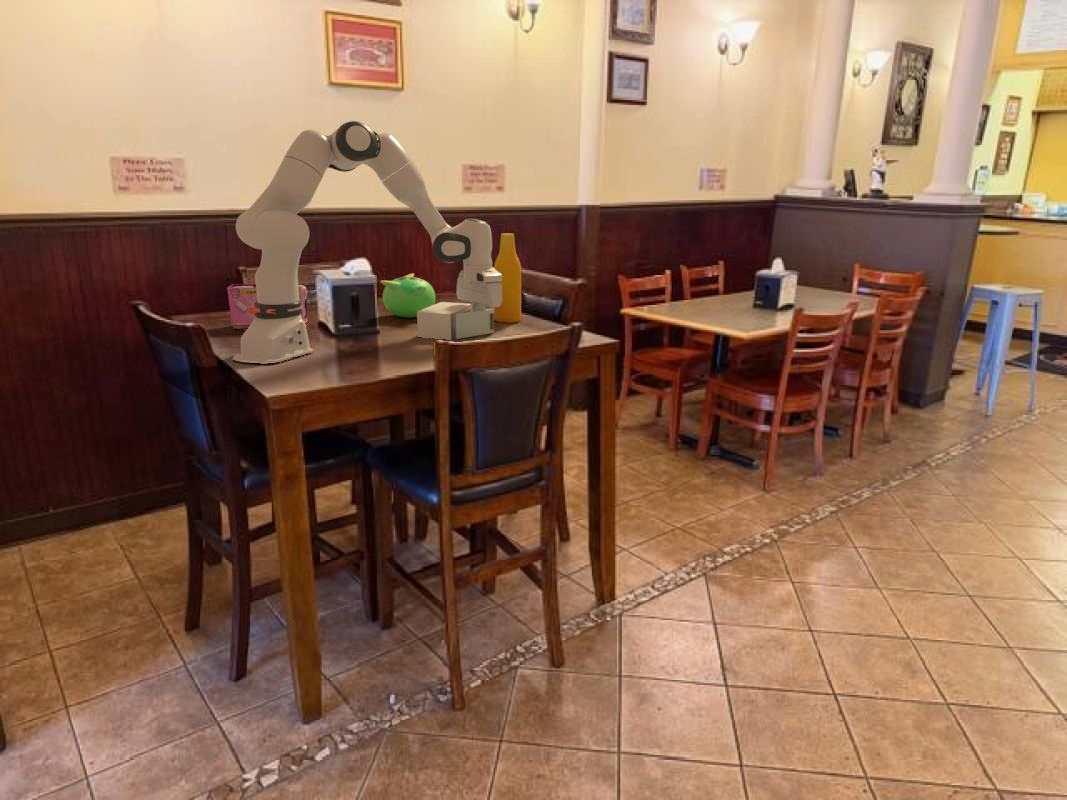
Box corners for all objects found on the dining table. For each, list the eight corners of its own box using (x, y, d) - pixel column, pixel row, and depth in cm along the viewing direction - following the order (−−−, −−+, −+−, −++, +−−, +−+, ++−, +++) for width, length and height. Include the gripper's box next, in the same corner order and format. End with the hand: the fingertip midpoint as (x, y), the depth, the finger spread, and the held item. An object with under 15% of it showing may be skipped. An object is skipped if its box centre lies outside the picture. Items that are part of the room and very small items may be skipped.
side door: (455, 340, 226) (454, 315, 224) (451, 339, 228) (451, 314, 225) (495, 332, 236) (495, 309, 234) (491, 331, 238) (491, 308, 235)
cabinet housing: (451, 340, 227) (450, 314, 225) (417, 337, 230) (416, 311, 228) (475, 327, 246) (474, 302, 243) (444, 324, 249) (443, 300, 246)
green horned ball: (440, 313, 268) (438, 272, 263) (429, 322, 252) (427, 279, 247) (390, 312, 269) (388, 270, 265) (377, 321, 253) (374, 277, 249)
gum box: (312, 323, 249) (309, 282, 245) (308, 328, 242) (305, 286, 238) (237, 325, 247) (233, 283, 243) (231, 330, 239) (226, 287, 235)
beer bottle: (517, 323, 251) (518, 235, 243) (491, 322, 253) (490, 234, 244) (523, 318, 260) (524, 233, 251) (497, 317, 262) (497, 232, 253)
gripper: (451, 269, 236) (452, 313, 241) (488, 277, 221) (488, 323, 225) (467, 268, 240) (468, 310, 244) (505, 276, 225) (505, 321, 229)
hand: (478, 317), depth 235 cm, fingers closed
